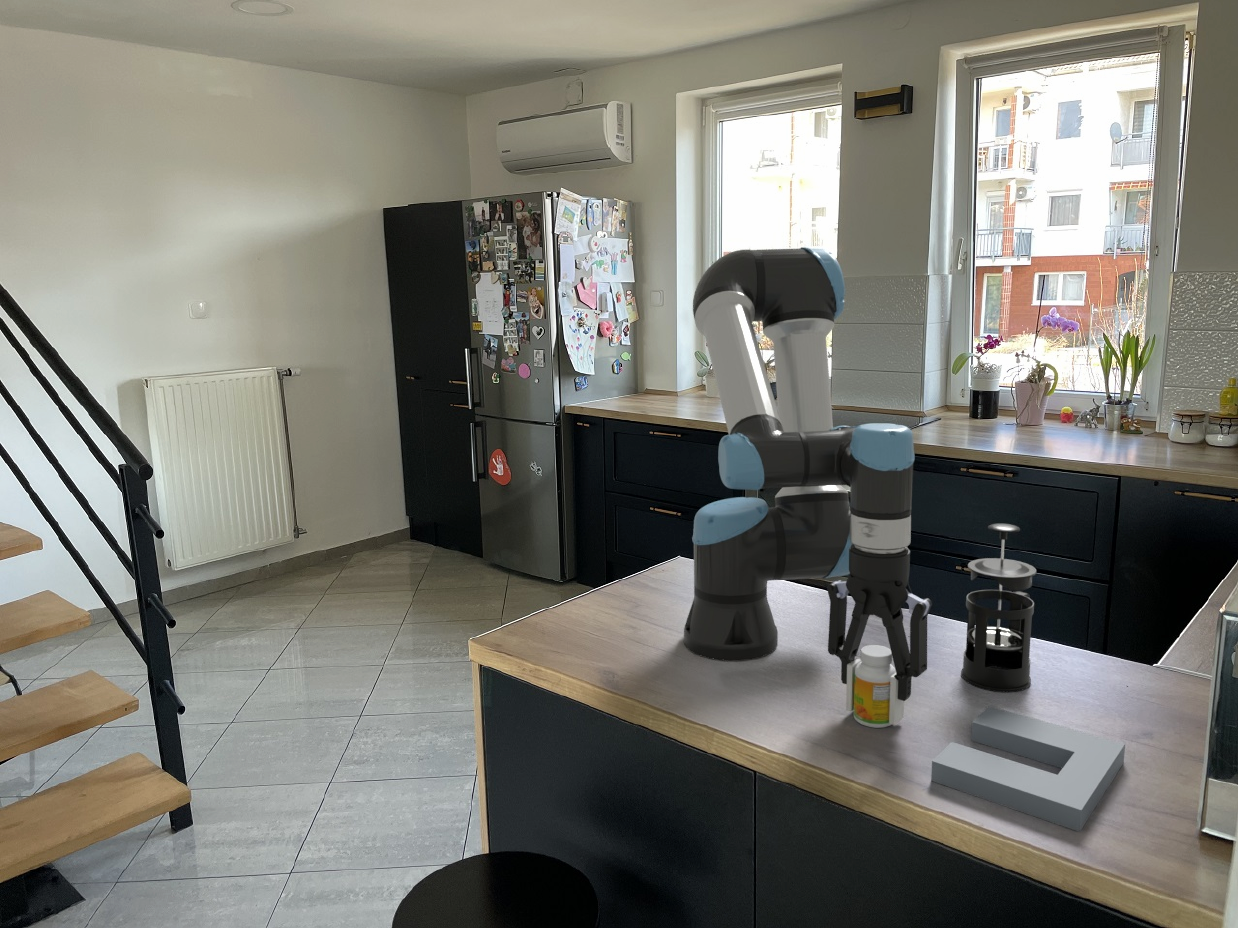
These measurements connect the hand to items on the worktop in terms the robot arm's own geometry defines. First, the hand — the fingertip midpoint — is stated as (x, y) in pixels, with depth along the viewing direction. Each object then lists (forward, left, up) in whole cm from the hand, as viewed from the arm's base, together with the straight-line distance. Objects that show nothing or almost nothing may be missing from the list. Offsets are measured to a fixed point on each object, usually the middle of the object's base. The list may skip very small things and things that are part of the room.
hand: (874, 713), depth 121 cm
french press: (+8, +23, -1) cm, 24 cm away
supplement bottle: (0, 0, -1) cm, 1 cm away
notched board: (+20, -1, -1) cm, 20 cm away
